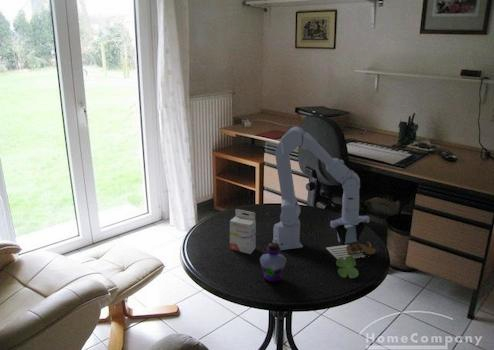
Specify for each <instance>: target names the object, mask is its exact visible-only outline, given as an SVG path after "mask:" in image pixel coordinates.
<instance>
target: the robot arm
mask: <svg viewBox="0 0 494 350" xmlns="http://www.w3.org/2000/svg"><path fill="white" fill-rule="evenodd" d="M299 147H300V149H299V150H305V151H309V152H310V153H312V154H313V155H314V156H315V157H316V158H317V159H319V160H320V161H321V163H323V164H324V165H325V171H326V172H327V173H329V174H330V176H332V178H334V179H335V181H337V182H338V183H340V184H341V186H342V187H341V188H342V189H343V194H342V203H341V205H342V206H341V217H339V218H337V219H334V220H330V221H329V222H330V223H329V224H330V225H329V227H331V228H333V229H335V230H336V233H337V232H338V235H339V238H340V242H339V243H340V245H341V246H343V245H346V244H344V243H345V238H346V232H347V229H346V228H345V227H344V225H353V226H356V234H357V241H356V242H358V243H359V239H360V236H361V234H362V232H363V230H364V229H365V227H366V224H367V223H370V216H368V215H359V214H360V213H359V212H360V211H359V210H360V188H361V178H360V177H359V175H358V173H357V172H355V171H354V170H352V169H350V168H349V167H348V166H347V165H346V164H345V161H344V160H343V159H339V158H337V157H332V156H331V155H330V154H329V153H328V152H327V150H325V149H324V148H323V146H321V145H320V143H319V142H318V141H317V140H316V139H315V138H314V137H313V136H312V135H311V134H310V133H309V132H307V131H305V129H303V128H302V127H301V126H299V125H298V126H297V125H296V126H292V127H291V128H290V129H288V131H286V132H285V134H283V136H282V137H281V138H280V140H279V143H278V145H277V147H276V149H275V151H274V155H275V161H276V162H275V163H276V169H277V175H278V182H279V190H280V194H281V195H280V197H281V205H280V208H281V213H280V215H279V219H280V221H279V222H277V223H275V224H274V225H273V231H272V232H273V233H272V234H273V235H272V236H273V239H272V243H278V244H279V247H280V251H283V250H284V251H286V250H292V249H301V248H304V245H303V244H302V243H301V242H300V232H301V221H300V219H299V216H300V214H301V211H302V210H301V206H300V204H299V203H298V199H297V196H296V194H295V193H296V192H295V187H294V179H293V178H294V177H293V172H292V171H293V170H292V165H291V164H292V163H291V158H290V154H291V153H292V152H293V151H295V150H296V149H297V148H299ZM364 223H366V224H364Z"/></svg>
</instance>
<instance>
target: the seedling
mask: <svg viewBox="0 0 494 350" xmlns="http://www.w3.org/2000/svg"><path fill="white" fill-rule="evenodd" d="M356 261H357V260H356V258H353V257H352V256H347V257H346V260H345V259H343V258H338V259H336V262H335V264H336V266H337V267H338V269H337V274H338V275H339V276H340V277H341V278H347V277H349V278H350V279H355V278H357V277H358V276H359V274H360V273H359V270H358V269H357V268H356V265H357V262H356Z"/></svg>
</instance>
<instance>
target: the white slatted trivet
mask: <svg viewBox="0 0 494 350" xmlns="http://www.w3.org/2000/svg"><path fill="white" fill-rule="evenodd" d="M348 245H349V244H345V245H337V246H336V245H335V246H329V247H325V249H326V250H327V251H328V252H329V253H330V254H331V255H332V256H333V257H334V258H335V259H336V260H337V259H338V258H343V259H345V260H346V257H347V256H352V257H353V258H354V259H359V258H360V257H361V258H366V257H365V255H363V253H361V252H360V251H356V252H355V253H354V254H352V253H350V254H347V249H346V247H347V246H348Z"/></svg>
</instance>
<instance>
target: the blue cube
mask: <svg viewBox="0 0 494 350" xmlns="http://www.w3.org/2000/svg"><path fill="white" fill-rule="evenodd" d="M344 227H345V228H346V229H347V232H346V238H345V243H344V244H345V245H347V244H350V243H351V242H356V241H357V234H356V226H353V225H344ZM336 233H337V234H336V235H337V242H338V243H340V238H339V235H338V232H337V231H336Z"/></svg>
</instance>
